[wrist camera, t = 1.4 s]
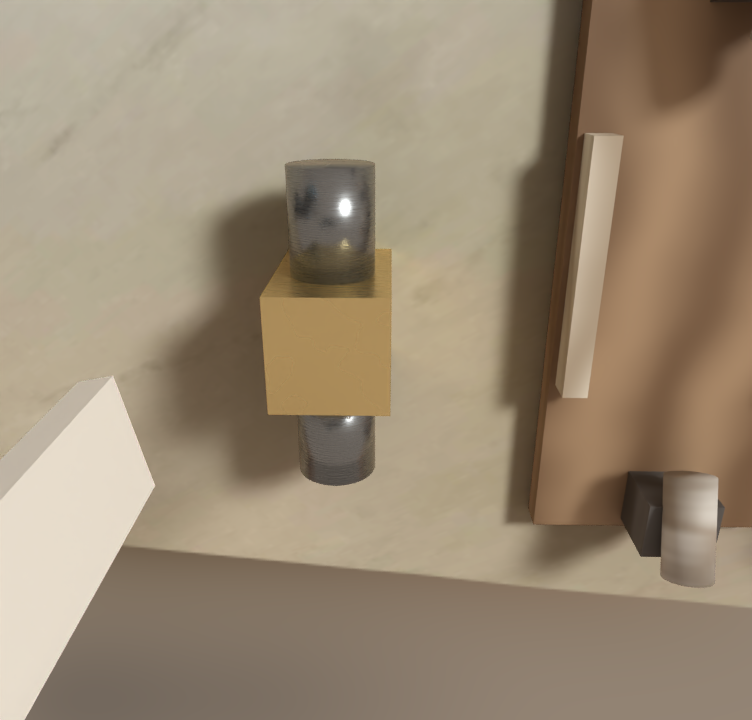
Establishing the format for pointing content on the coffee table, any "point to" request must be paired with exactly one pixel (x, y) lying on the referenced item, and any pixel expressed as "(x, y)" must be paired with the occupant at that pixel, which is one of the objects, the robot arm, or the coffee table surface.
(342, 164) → the universal joint
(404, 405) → the coffee table surface
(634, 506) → the coupling cradle
